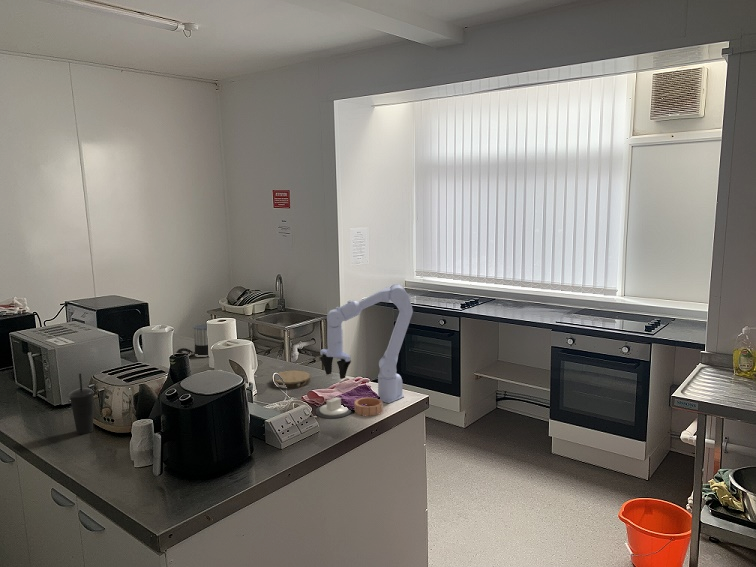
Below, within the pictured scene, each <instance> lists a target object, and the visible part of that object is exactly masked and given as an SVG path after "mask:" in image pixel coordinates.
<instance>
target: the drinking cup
mask: <svg viewBox="0 0 756 567" xmlns="http://www.w3.org/2000/svg"><path fill="white" fill-rule="evenodd" d="M78 379H79V381H78V382H79V388H76V389H74V390H72V391H70V392H69V393H68V397H69V399H70V405H71V410H72V415H73V419H74V425H75V430H76V434H78V435H87V434H90V433H93V431H94V404H95V403H94V398H95V397H94V396H95V395H94V394H95V392H94V391H95V390H94V389H93V390H94V391H93V390H92V388H88V387H83V380H82V373H78Z"/></svg>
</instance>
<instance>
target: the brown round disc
mask: <svg viewBox="0 0 756 567" xmlns="http://www.w3.org/2000/svg"><path fill="white" fill-rule="evenodd" d="M277 373H278V374H279V375H280V376H281V377H282V379H283V380H284V383H285V385H286V387H287V388H288V389H287V390H292V389H299V388H303V387H306V386H308V385H309V384H311V374H310V373H309V372H307V371H304V370H286V371H285V370H284V371H280V372H277ZM276 382H277V383H278V384H279V385H283V383H282V381H281V380H280V379H279V380H276ZM271 385H272V386H273V385H274V386H273V387H275V386H276V385H275V384H274V382H273V375H272V376H271Z"/></svg>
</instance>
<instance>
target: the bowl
mask: <svg viewBox="0 0 756 567" xmlns="http://www.w3.org/2000/svg"><path fill="white" fill-rule="evenodd" d="M360 404H367V405H366V406H362V405H360ZM353 405H354V412H355V414H357V415H359V416H362V415H364V416H365V415H366V416H365V417H372V416H371V415H374V416H378V415H380V414H382V413H383V411H384V409H383V408H384V402H383V401H381V400H380V399H377V398H373V397H370V396H369V397H361V398H358V399H356V400H355V401H354V404H353ZM381 412H382V413H381ZM379 413H380V414H379ZM377 414H378V415H377Z"/></svg>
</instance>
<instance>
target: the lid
mask: <svg viewBox="0 0 756 567" xmlns="http://www.w3.org/2000/svg"><path fill="white" fill-rule="evenodd" d="M341 404H342V398H341V397H337V396H335V397H333V398H330V399H327V400H326V404H323V405H320V406H321V407H320V406H319V407H320V413H322V414H324V415H330V416H335V415H342V414H344V413H346V412H348V408H347V407H344V406H343V405H341Z"/></svg>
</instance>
